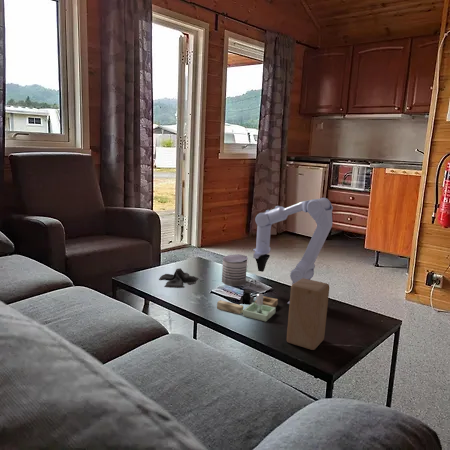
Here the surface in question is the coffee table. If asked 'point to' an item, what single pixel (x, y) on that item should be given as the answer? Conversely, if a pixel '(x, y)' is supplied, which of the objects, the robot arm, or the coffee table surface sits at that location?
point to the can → (234, 270)
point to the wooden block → (307, 313)
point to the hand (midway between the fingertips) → (261, 271)
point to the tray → (266, 313)
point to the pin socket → (269, 301)
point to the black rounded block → (246, 297)
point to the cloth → (178, 279)
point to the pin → (259, 303)
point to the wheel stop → (230, 307)
